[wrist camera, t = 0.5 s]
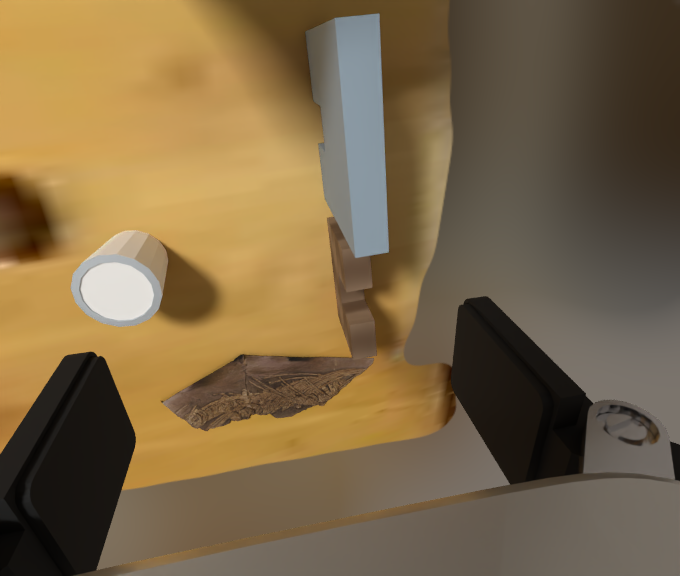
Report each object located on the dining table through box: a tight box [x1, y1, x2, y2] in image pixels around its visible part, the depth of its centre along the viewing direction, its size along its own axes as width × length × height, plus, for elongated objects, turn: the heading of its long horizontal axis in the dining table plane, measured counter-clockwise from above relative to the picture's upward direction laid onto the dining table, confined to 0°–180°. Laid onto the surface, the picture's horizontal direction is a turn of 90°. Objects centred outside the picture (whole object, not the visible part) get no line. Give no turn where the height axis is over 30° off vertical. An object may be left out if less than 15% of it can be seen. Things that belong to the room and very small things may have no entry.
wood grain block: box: [327, 217, 377, 360], centre depth 41 cm, size 12×2×8 cm, turn 5°
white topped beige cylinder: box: [71, 230, 168, 327], centre depth 37 cm, size 7×7×7 cm
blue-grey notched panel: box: [305, 14, 389, 258], centre depth 31 cm, size 14×2×14 cm, turn 5°
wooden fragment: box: [161, 355, 374, 431], centre depth 51 cm, size 26×11×1 cm, turn 93°
